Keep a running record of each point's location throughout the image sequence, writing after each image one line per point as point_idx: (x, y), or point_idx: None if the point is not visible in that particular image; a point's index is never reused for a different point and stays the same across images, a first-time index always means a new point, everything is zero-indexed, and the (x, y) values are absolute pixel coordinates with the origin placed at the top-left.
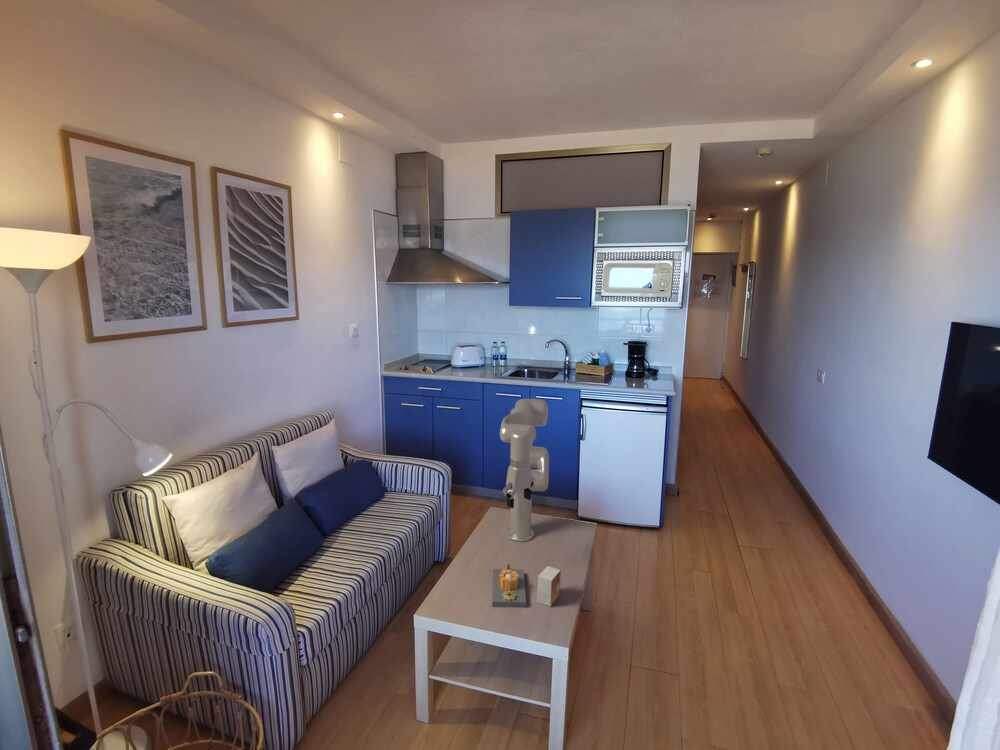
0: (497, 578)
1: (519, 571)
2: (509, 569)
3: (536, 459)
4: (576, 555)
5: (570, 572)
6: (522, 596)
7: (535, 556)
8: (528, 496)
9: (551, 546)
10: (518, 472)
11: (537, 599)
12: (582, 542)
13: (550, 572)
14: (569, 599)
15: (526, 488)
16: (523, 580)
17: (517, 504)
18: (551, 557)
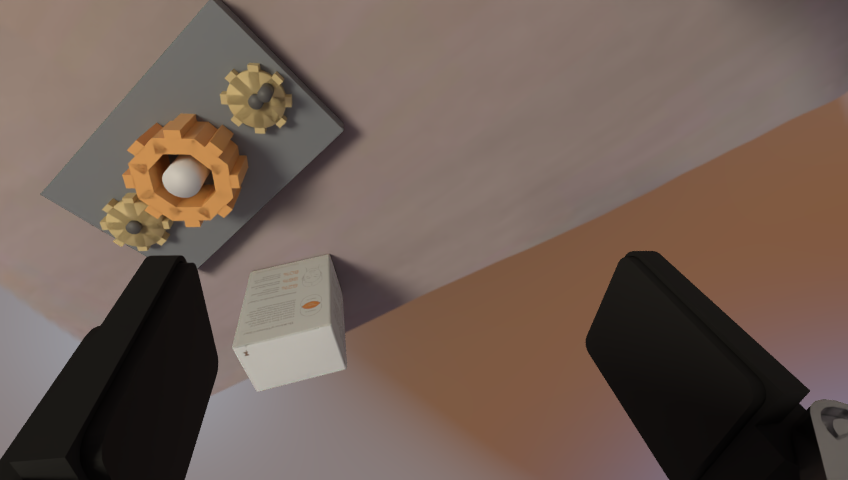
0: (177, 84)
1: (317, 126)
2: (219, 149)
3: None
4: (598, 192)
5: (484, 241)
6: (197, 250)
7: (501, 69)
8: (620, 374)
9: (617, 72)
10: None
11: (249, 279)
12: (700, 154)
13: (298, 360)
14: (351, 320)
15: (764, 466)
16: (280, 184)
17: None
18: (534, 130)
